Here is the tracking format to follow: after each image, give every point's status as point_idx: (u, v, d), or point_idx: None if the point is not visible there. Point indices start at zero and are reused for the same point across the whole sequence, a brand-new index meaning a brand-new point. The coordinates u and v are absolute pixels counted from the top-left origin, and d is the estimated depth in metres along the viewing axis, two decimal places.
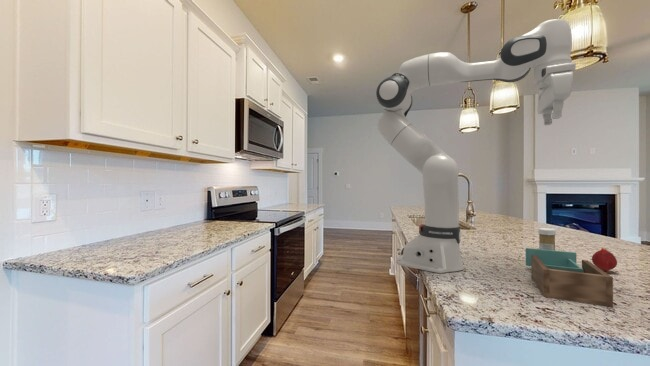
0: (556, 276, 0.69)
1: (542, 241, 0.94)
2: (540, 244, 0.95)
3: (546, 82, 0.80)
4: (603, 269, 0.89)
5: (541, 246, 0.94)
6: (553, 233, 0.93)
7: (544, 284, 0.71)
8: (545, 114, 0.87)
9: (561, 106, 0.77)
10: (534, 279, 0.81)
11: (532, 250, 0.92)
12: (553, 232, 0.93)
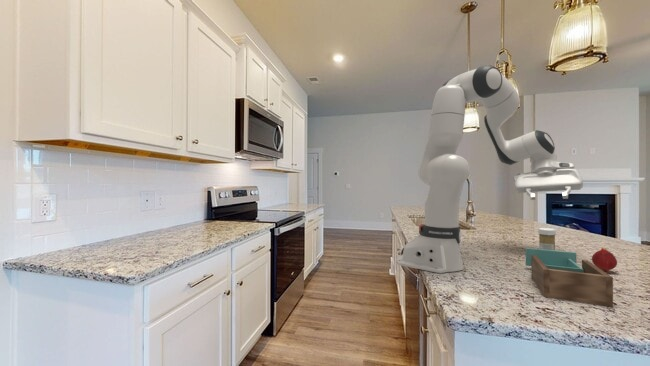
0: (556, 276, 0.69)
1: (542, 241, 0.94)
2: (540, 244, 0.95)
3: (560, 171, 1.04)
4: (603, 269, 0.89)
5: (541, 246, 0.94)
6: (553, 233, 0.93)
7: (544, 284, 0.71)
8: (530, 191, 1.07)
9: (569, 192, 1.00)
10: (534, 279, 0.81)
11: (532, 250, 0.92)
12: (553, 232, 0.93)
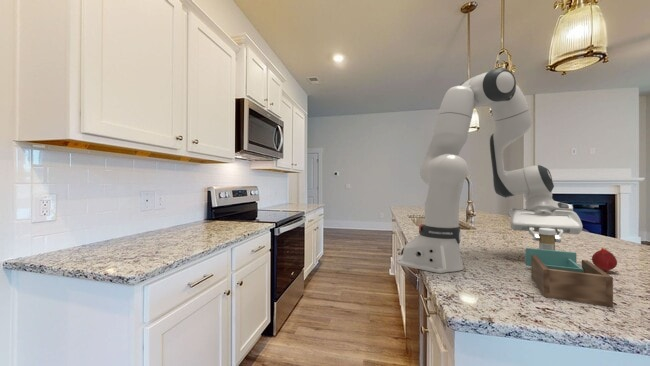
0: (556, 276, 0.69)
1: (542, 241, 0.94)
2: (540, 244, 0.95)
3: (559, 212, 0.97)
4: (603, 269, 0.89)
5: (541, 246, 0.94)
6: (553, 233, 0.93)
7: (544, 284, 0.71)
8: (533, 230, 0.98)
9: (561, 235, 0.94)
10: (534, 279, 0.81)
11: (532, 250, 0.92)
12: (553, 232, 0.93)
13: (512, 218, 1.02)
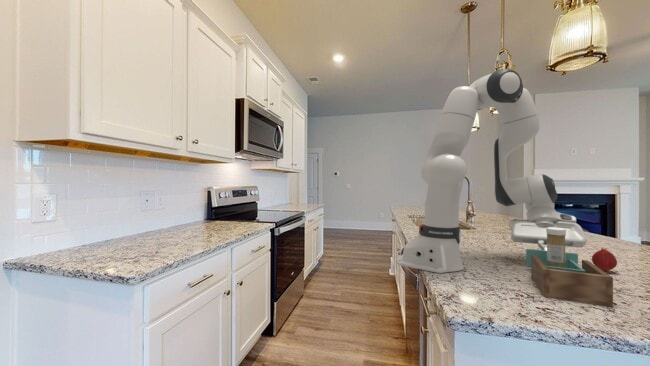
0: (556, 276, 0.69)
1: (550, 242, 0.83)
2: (548, 245, 0.84)
3: (561, 224, 0.93)
4: (603, 269, 0.89)
5: (549, 248, 0.84)
6: (563, 233, 0.82)
7: (544, 284, 0.71)
8: (542, 243, 0.93)
9: None
10: (534, 279, 0.81)
11: (533, 251, 0.91)
12: (563, 232, 0.82)
13: (513, 229, 0.98)
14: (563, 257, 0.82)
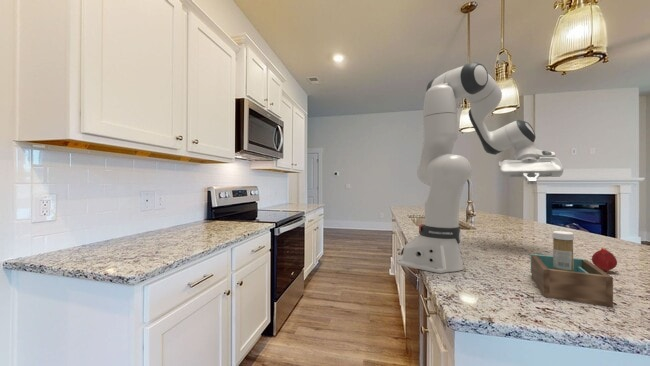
0: (556, 276, 0.69)
1: (557, 248, 0.77)
2: (554, 251, 0.77)
3: (542, 159, 1.08)
4: (603, 269, 0.89)
5: (556, 254, 0.77)
6: (571, 238, 0.75)
7: (544, 284, 0.71)
8: (526, 175, 1.08)
9: (537, 178, 1.06)
10: (534, 279, 0.81)
11: (538, 256, 0.84)
12: (571, 236, 0.75)
13: (501, 166, 1.13)
14: (571, 264, 0.75)
